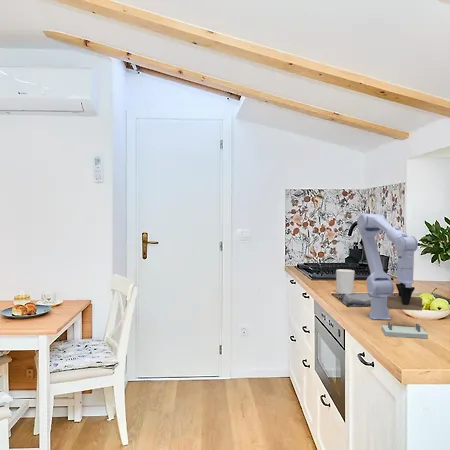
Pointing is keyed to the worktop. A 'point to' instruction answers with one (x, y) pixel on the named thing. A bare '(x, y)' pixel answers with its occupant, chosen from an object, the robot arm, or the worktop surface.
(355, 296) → the stone block
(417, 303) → the walnut plank
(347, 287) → the candle holder
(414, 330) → the peg stand
